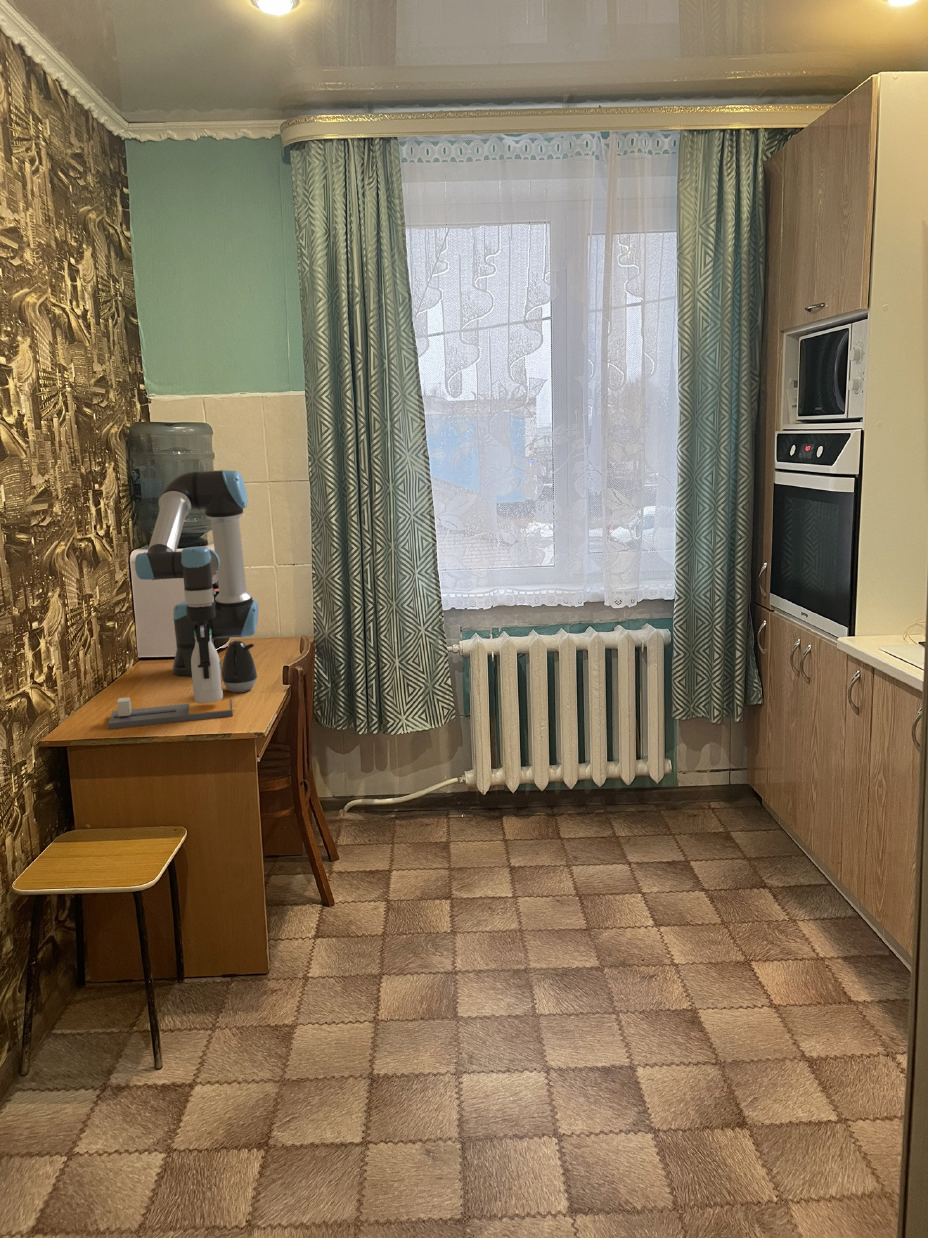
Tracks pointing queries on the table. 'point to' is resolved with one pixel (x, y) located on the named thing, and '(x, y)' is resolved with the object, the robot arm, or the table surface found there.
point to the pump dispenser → (239, 667)
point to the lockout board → (171, 714)
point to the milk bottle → (217, 691)
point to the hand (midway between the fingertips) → (207, 685)
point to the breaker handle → (124, 706)
